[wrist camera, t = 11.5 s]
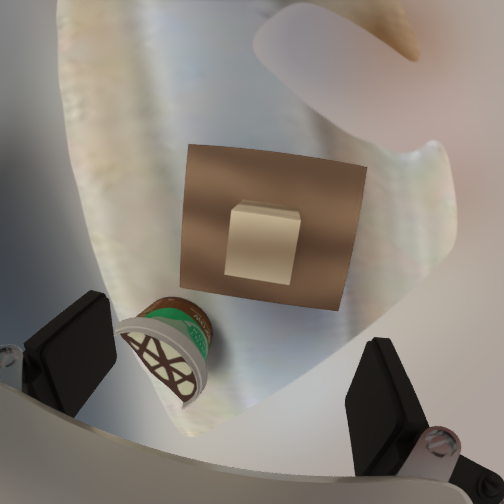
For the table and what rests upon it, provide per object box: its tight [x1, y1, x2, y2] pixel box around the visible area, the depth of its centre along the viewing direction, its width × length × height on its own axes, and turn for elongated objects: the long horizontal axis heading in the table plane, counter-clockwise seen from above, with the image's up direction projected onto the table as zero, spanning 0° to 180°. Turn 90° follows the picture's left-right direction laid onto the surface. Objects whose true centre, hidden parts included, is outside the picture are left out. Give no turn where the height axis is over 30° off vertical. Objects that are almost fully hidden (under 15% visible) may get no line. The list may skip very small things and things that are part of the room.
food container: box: [114, 297, 212, 409], centre depth 33 cm, size 12×6×10 cm, turn 35°
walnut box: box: [180, 144, 367, 311], centre depth 30 cm, size 14×16×5 cm
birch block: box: [224, 199, 301, 285], centre depth 25 cm, size 5×5×6 cm
